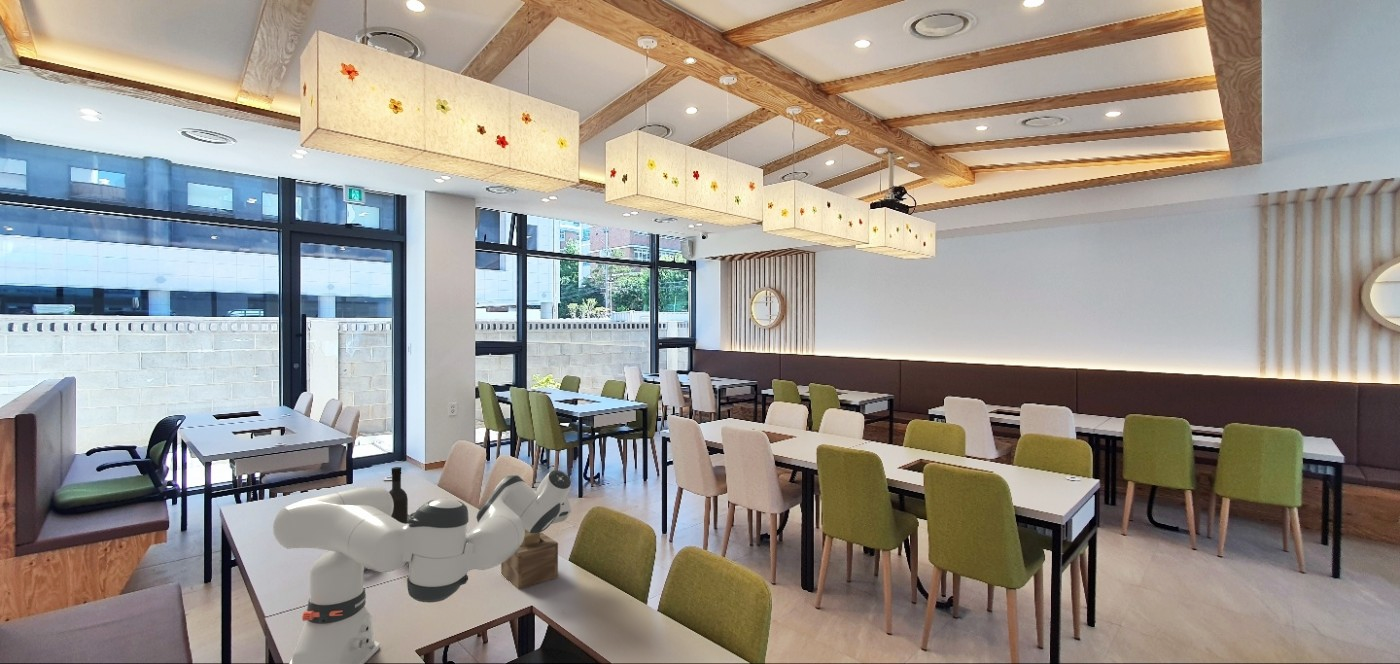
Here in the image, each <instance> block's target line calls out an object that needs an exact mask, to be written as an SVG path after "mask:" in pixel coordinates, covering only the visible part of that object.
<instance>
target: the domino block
mask: <svg viewBox="0 0 1400 664" xmlns="http://www.w3.org/2000/svg"><path fill="white" fill-rule="evenodd" d="M538 543H540V532H538V533H530V532H528V531H527V530H525V536H524V540H523V542H522V544H521V547H526V546H530V545H534V544H538Z"/></svg>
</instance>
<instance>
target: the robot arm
mask: <svg viewBox="0 0 1400 664" xmlns="http://www.w3.org/2000/svg"><path fill="white" fill-rule="evenodd" d="M571 487H572V481H571V478H570V476H568V474H566V473H565V472H563V471H562V470H557V469H554V470H551V471H549V472H548V473H547V474H546V475H545V476H544V478H543V479H542V480H541V482H540V483H539V485H538V486H537V489H534V488H533V487H532V486H530V485H529V484H527V482H526V481H524V479H523V478H522V477H520V475H516V474H514V475H507V476H506V477H504V478H503V479H501V481H499V482H498V483H497V485H496V487H495V488H494V490H493V491H492V493H491V494H490V495H489V497H488V498H487V499H486V500H485V502H484V503H483V505H482V506H481V507H480V509H478V512H477V514H476V521H477V523H478V524H476V525H475V526H474V528H472V530H470V532H468V531H467V530H468V523H469V520H470V519H469V510H468V506H467V505H466V504H465V503H464V502H462V501H460V500H457V499H453V498H448V497H447V498H446V497H444V498H443V497H442V498H437V499H431V500H429V501H427V502H426V503H424V504H422V505H421V506H420V507H418V509H417V510H416V511H415V512H412V513H410V514H409V515H408V518H407V521H408V524H404V523H401V522H399V521H397V520H396V519H394V518H392V517H391V515H392V513H393V508H394V503H393V499H392V496H391V494H390V493H389V491H388V490H387V489H386V488H385V487H384V486H361V487H355V488H352V489H351V488H350V489H348V490H347V489H346V490H342V491H336V492H334V493H333V492H332V493H329V494H323V495H318V496H314V497H310V498H308V497H307V498H305V499H302V500H299V501H296V502H293V503H291V504H289V505H286V506H284V507H282V508H280V510H279V511H278V513H277V514H276V516H275V518H274V520H273V525H272V526H273V527H272V530H273V531H272V532H273V536H274V538H275V540H276V541H277V543H278V544H279V545H280V546H282V547H283V548H285V549H293V550H294V549H315V550H322V551H326V552H324V553H323V554H321V556H319V557H318V558H317V559H316V560H315V562H314V563H313V565H312V566H311V569H310V571H309V573H310V574H309V579H310V580H309V583H310V585H309V586H310V588H309V589H310V592H309V593H310V597H309V599H308V604H307V606H306V610H305V611H303V613H302V617H301V619H302V621H303V622H304V624H303V627H302V629H301V632H300V635H299V636H298V639H297V641H296V642H297V643H296V644H295V647H294V650H293V653H292V656H291V659H290V661H289V663H288V664H365V663H367V662H368V660H369V659H371V658H372V656H374V654H375V653H376V652H378V651H379V650H380V649H381V645H380V642H379V641H376V640H374V628H373V627H374V626H373V616H372V613H370V612H369V611H368V610H367V608H366V606H365V605H366V603H367V602H366V599H367V593H366V588H365V586H364V572H365V570H364V567H366V568H367V569H369V570H372V571H375V572H380V573H391V572H394V571H397V570H399V569H400V568H402V567H403V566H404V565H405V564H406V563H408V565H409V566H408V576H407V579H406V584H407V592H408V595H409V596H410V598H412V599H413V600H415V601H418V602H419V603H420V602H422V603H430V604H431V603H438V602H442V601H444V600H446V599H448V598H450V597H451V596H452V595H453V594H455V593H457V591H458V590H459V589H460V587H461V586H463V585H465V584H467V582H468V580H469V575H468V572H470V571H473V570H477V571H478V570H479V571H485V570H489V569H492V568H494V567H497V566H499V565H501V563H503V562H505V561H506V560H507V559H509V558H510V557H511V556H512V555H513V554H515V552H516V551H517V550H518V549H519V547H520V546H521V544H522V542H523V540H524V536H525V530H527V531H528V532H530V533H538V532H541V533H543V532H545V530H547V529H548V528H549V527H550V526H551V525H553V524H557V523H563V522H565V521H566V520H567V519H568V518H569V515H570V514H571V513H572V506H571V503H570V501H569V499H568V495H569V493H570V491H571Z"/></svg>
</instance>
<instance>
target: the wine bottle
mask: <svg viewBox="0 0 1400 664" xmlns="http://www.w3.org/2000/svg"><path fill="white" fill-rule="evenodd" d="M390 470H391V489H390V490H389V491H388V492H389V493H390V494H391V496H392V499H393V503H394V508H393V513H392V515H391V517H392V518H394V519H396V520H397V521H399V522H401V523H404V524H409V522H408V521H407V518H408V516H409V515H408V514H409V513H408V511H409V508H408V507H409V504H408V502H409V499H408V498H409V497H408V494H407V493H406V491H405V489H403V488H402V466H401V467H400V466H394V467H392V468H391V469H390Z"/></svg>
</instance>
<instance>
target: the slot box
mask: <svg viewBox="0 0 1400 664" xmlns="http://www.w3.org/2000/svg"><path fill="white" fill-rule="evenodd" d="M500 567H501V569H500V570H501V574H502V575H503V576H504V577H505V578H506V579H505V578H504V577H503V576H502V575H501V574H500V575H501V576H502V577H503V578H504V579H505V580H506V581H508V582H509V581H510V582H511V583H512V584H511V583H510V582H509V583H510V584H511V585H513V586H514V587H515V588H516V589H517V590H521V589H524V588H528V587H531V586H534V585H537V584H540V583H543V582H544V581H545V582H547V580H548V581H550V580H554V578H555V579H558V578H559V576H558V575H559V542H557V541H556V540H554V539H552V538H551V537H549V536H547V535H546V534H544V533H543V532H540V543H538V544H534V545H530V546H526V547H521V546H520V547H519V549H518V550H517V551H516V552H515V554H513V555H512V556H511V557H510V558H509V559H507V560H506V561H505V562H503V563H501V564H500Z"/></svg>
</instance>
